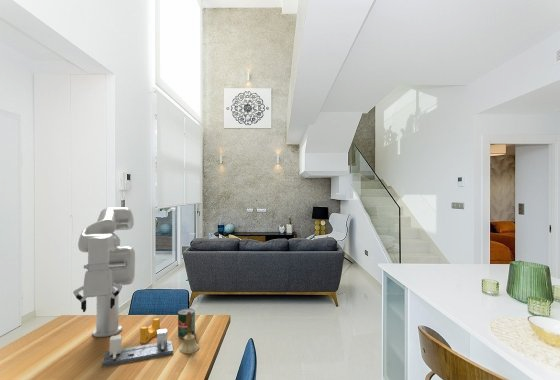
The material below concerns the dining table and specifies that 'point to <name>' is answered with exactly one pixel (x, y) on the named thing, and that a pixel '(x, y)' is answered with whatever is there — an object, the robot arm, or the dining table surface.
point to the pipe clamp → (149, 331)
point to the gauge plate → (141, 351)
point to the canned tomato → (182, 322)
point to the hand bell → (189, 338)
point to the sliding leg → (115, 345)
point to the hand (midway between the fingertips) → (98, 309)
